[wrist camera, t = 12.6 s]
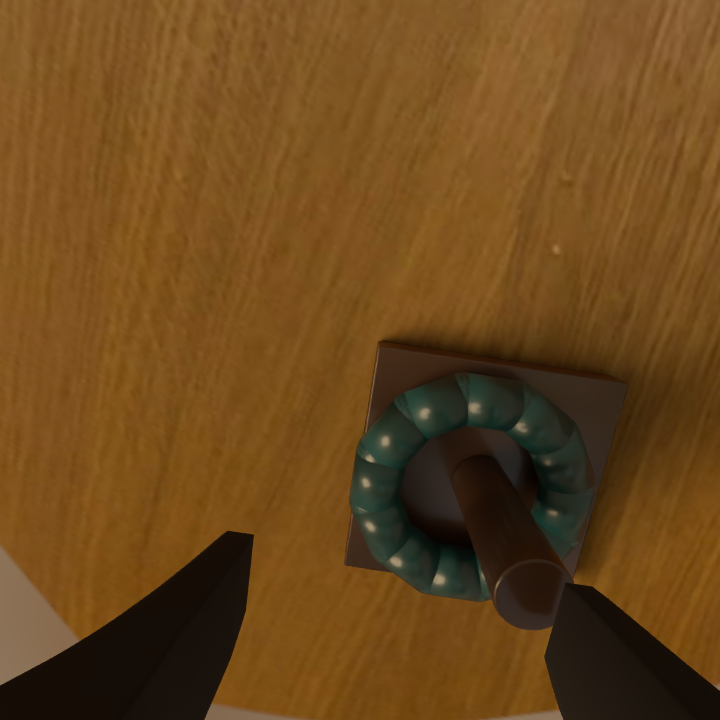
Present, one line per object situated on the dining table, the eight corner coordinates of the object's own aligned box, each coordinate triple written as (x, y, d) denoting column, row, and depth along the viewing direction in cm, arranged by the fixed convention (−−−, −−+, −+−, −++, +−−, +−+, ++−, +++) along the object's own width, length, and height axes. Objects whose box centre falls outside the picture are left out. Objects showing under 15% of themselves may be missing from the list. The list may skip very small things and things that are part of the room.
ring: (549, 591, 17) (569, 627, 16) (339, 559, 17) (335, 592, 16) (603, 388, 16) (632, 403, 14) (370, 353, 16) (370, 364, 14)
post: (555, 579, 19) (665, 769, 11) (345, 547, 19) (327, 717, 12) (611, 375, 17) (783, 453, 10) (378, 340, 17) (379, 392, 10)
